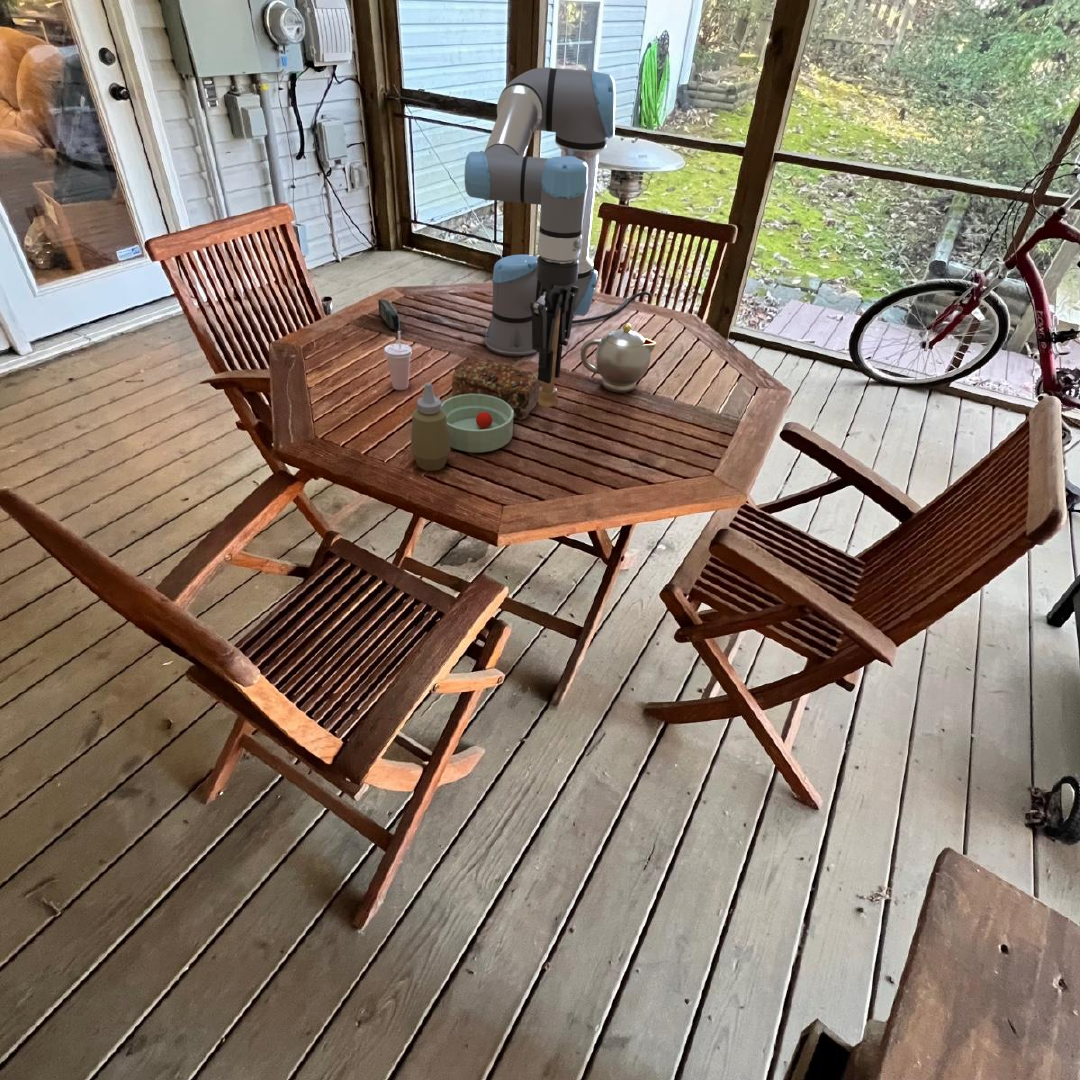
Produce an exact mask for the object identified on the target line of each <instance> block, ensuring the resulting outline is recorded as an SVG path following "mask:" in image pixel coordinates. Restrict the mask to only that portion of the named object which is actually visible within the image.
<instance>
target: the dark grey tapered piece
mask: <svg viewBox="0 0 1080 1080" xmlns="http://www.w3.org/2000/svg"><path fill="white" fill-rule="evenodd" d="M377 303H378V304H377V305H378V314H379V316H380V317H381V318H382V319H383V320H384V322H385V323H386V325H387V327H388V328H390V329H391V330H393V331H395V330H396V331H397V332H398V331H400V334H403V331H402V330H401V328H400V327H401V326H400V325H401V324H400V322H401V321H400V316H399V313H398V311H397V310H396V308H395V307H394V306H393V305H392V304H391V303H390V301H388V300H387V299H379V300H378V301H377Z"/></svg>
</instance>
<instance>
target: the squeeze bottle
mask: <svg viewBox="0 0 1080 1080" xmlns="http://www.w3.org/2000/svg"><path fill="white" fill-rule="evenodd" d="M441 404H442V401H441V399H440V398H439V397H437V396H435V392H434V388H433V385H432V383H431V382H425V384H424V387H423V393H422V396H421V397H419V398H418V399H417V400H416V408H415V409H414V410H413V412H412V415H411V416H412V419H411V434H410V435H411V436H410V451H411V454H412V456H413V458H414V461H415V463H416V465H417V467H419V469H422V470H424V471H428V472H429V471H430V472H432V471H439V470H441V469H443V468H444V467H445V466H446V464H447V461H448V458H449V455H450V453H451V450H452V447H451V446H450V439H449V431H448V424H447V416H446V412H445V410H443V409H442V408H441Z"/></svg>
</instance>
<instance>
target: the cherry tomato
mask: <svg viewBox="0 0 1080 1080" xmlns="http://www.w3.org/2000/svg"><path fill="white" fill-rule="evenodd" d="M476 423H477V425H478V426H479V427H481V428H488V427H489V426H490V425H491V424H492V417H491V415H490V414H489V413H487V412H481V413H479V414H478V415H477V417H476Z"/></svg>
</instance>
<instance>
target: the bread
mask: <svg viewBox="0 0 1080 1080" xmlns="http://www.w3.org/2000/svg"><path fill="white" fill-rule="evenodd" d="M453 370H454V372H453V375H452V377H451V391H452V392H451V397H454V396H458V395H463V394H485V395H490V396H494V397H497V398H499V399H502V400H504V401H505V402H506V403H508V404H509V405H510V406H511V408H512V409H513V419H518V420H521V421H522V420H526V419H527V417H529V415H530V413H531V411H532V410H534V409H535V407H536V405H537V404H538V394H539V388H540V387H541V381H540V380H538V375H536V374H534V373H533V372H531V371H530V370H526V369H524V368H521V367H519V366H516V365H514V364H510V363H504V362H500V361H496V360H495V361H494V360H492V359H491V360H485V359H483V358H480V357H468V358H466V359H464V360H462V361H460V362H459V363H458V364H457V365H456V366H455V367H454V369H453Z"/></svg>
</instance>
